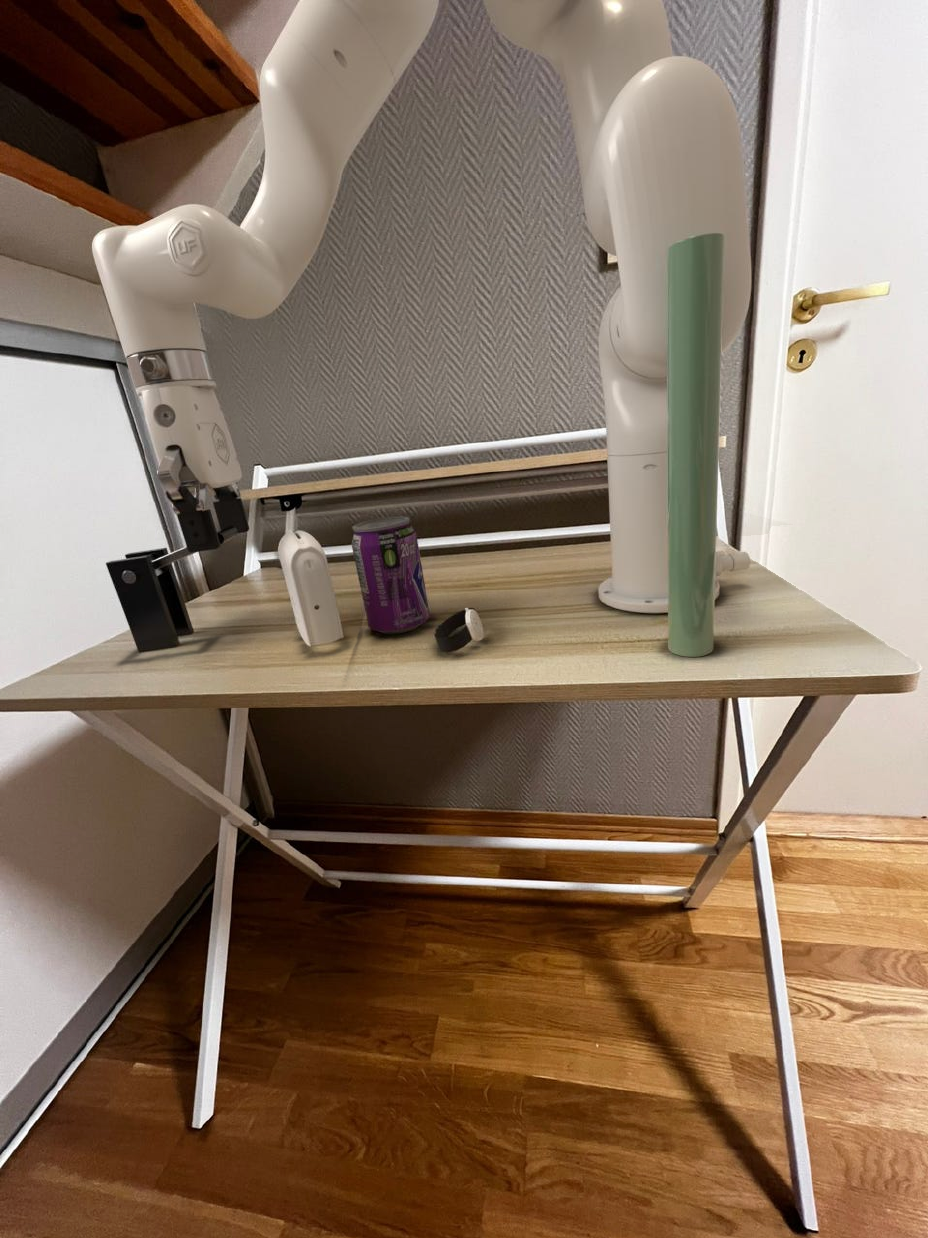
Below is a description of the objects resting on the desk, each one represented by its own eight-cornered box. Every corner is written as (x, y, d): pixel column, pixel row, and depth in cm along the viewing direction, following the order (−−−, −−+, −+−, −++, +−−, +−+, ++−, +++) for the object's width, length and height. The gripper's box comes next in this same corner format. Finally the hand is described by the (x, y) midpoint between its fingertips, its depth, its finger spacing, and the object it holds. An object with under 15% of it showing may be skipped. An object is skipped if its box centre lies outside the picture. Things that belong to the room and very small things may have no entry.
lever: (242, 538, 63) (231, 519, 62) (229, 546, 58) (217, 526, 58) (147, 579, 63) (135, 560, 63) (127, 589, 59) (114, 570, 58)
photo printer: (350, 647, 57) (324, 533, 53) (310, 659, 56) (280, 542, 51) (331, 622, 66) (308, 522, 62) (296, 631, 65) (270, 530, 60)
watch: (475, 657, 51) (470, 621, 49) (427, 658, 52) (421, 623, 50) (489, 626, 58) (485, 594, 56) (447, 628, 59) (442, 597, 57)
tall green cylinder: (700, 637, 48) (707, 247, 38) (721, 653, 45) (735, 229, 34) (661, 643, 48) (657, 253, 38) (679, 659, 45) (680, 236, 34)
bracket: (217, 635, 67) (188, 543, 63) (197, 654, 62) (164, 555, 58) (145, 646, 67) (111, 554, 63) (119, 666, 61) (80, 567, 57)
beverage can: (421, 636, 57) (402, 525, 53) (360, 639, 59) (336, 532, 55) (437, 613, 64) (421, 512, 60) (382, 616, 66) (362, 519, 62)
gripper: (173, 361, 47) (228, 552, 52) (238, 378, 63) (275, 523, 69) (86, 373, 46) (151, 564, 52) (174, 387, 63) (216, 532, 68)
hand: (221, 540), depth 60 cm, fingers open, 9 cm apart
